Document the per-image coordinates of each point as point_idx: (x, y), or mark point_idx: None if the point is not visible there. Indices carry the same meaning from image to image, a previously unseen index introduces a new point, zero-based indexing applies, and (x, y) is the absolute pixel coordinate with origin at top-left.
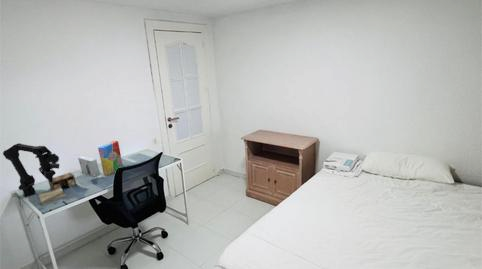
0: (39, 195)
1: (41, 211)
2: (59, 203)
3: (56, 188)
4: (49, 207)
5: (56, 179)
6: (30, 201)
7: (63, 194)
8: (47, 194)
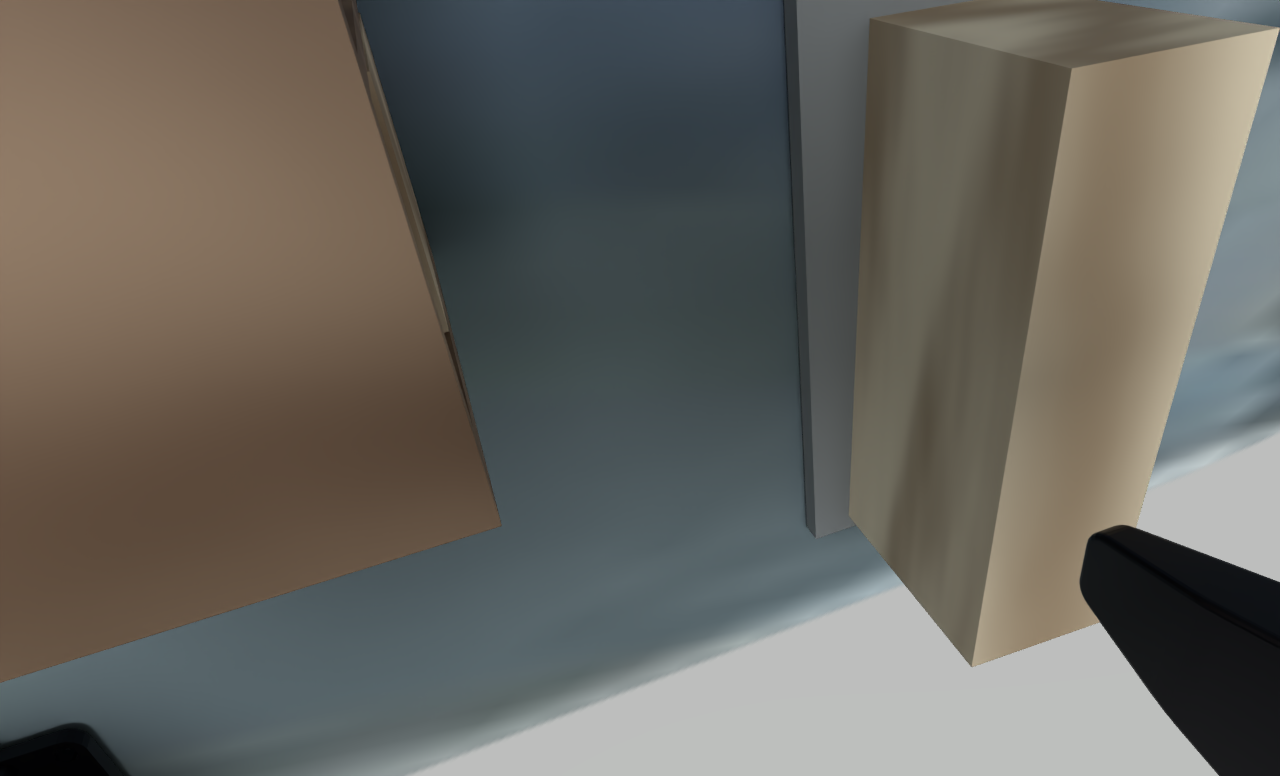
0: (1014, 643)
1: (1206, 445)
2: (1248, 145)
3: (415, 206)
4: (1205, 334)
5: (74, 279)
6: (566, 696)
7: (1078, 3)
8: (1144, 473)
